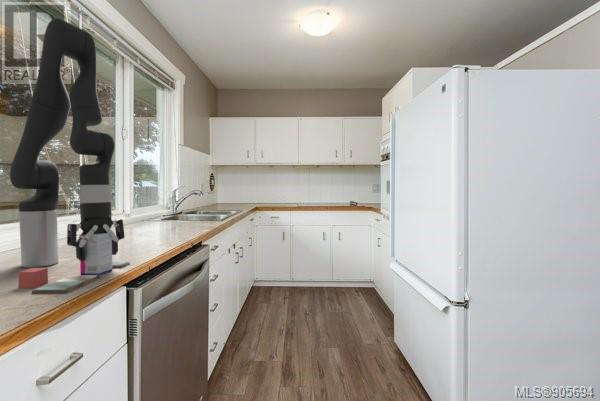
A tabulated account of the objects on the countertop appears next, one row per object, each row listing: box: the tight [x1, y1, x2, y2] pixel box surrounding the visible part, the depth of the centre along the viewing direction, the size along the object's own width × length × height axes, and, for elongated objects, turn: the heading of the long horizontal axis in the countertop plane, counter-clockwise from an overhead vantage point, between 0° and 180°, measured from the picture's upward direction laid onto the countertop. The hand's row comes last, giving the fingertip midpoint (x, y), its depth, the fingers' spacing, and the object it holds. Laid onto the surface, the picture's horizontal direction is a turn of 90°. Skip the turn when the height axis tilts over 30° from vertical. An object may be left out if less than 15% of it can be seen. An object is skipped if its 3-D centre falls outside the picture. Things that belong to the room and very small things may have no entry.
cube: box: [17, 267, 49, 289], centre depth 80 cm, size 4×4×4 cm
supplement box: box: [79, 233, 113, 276], centre depth 91 cm, size 6×6×12 cm
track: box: [31, 261, 131, 294], centre depth 88 cm, size 28×8×1 cm, turn 0°
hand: (98, 257), depth 91 cm, fingers open, 8 cm apart
